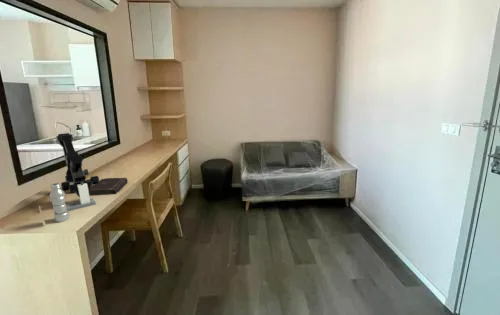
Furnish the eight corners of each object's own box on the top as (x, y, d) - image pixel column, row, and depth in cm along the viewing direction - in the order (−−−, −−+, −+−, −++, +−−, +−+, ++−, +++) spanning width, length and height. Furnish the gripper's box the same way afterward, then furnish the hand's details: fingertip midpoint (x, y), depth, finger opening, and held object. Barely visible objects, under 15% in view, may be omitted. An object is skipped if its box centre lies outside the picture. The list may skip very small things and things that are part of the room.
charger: (81, 206, 156) (77, 184, 152) (80, 204, 159) (76, 182, 155) (90, 204, 158) (86, 182, 155) (89, 202, 161) (85, 180, 158)
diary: (128, 183, 199) (127, 177, 198) (116, 196, 175) (115, 189, 174) (101, 184, 197) (100, 178, 195) (85, 198, 172) (84, 190, 171)
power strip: (63, 214, 149) (62, 209, 148) (61, 209, 154) (60, 204, 154) (96, 205, 159) (95, 201, 158) (92, 202, 165) (92, 197, 164)
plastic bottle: (59, 225, 136) (51, 187, 131) (52, 222, 139) (44, 185, 134) (72, 220, 142) (65, 183, 137) (65, 217, 145) (58, 181, 140)
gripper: (58, 168, 150) (64, 192, 145) (95, 162, 162) (103, 184, 156) (58, 179, 158) (65, 202, 152) (94, 172, 170) (101, 193, 164)
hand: (84, 195), depth 156 cm, fingers closed on charger, 4 cm apart
